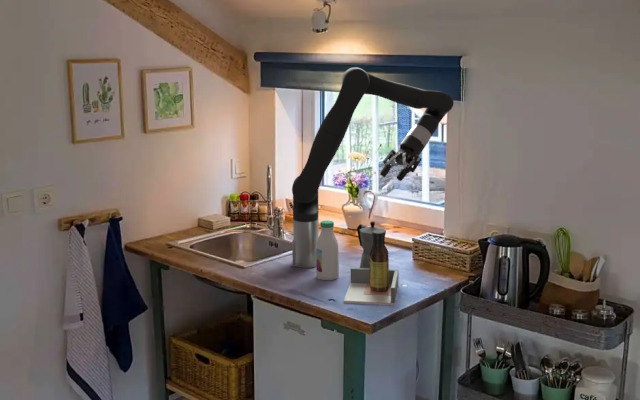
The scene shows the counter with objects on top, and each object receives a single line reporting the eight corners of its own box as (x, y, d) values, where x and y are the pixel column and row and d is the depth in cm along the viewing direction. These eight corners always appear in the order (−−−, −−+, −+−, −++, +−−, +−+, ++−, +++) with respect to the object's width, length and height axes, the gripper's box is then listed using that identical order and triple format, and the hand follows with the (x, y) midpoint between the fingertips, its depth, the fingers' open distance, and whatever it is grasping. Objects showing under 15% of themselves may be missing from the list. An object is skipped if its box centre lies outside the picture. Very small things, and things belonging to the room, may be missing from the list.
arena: (343, 303, 231) (343, 285, 230) (351, 283, 248) (351, 267, 247) (394, 305, 228) (394, 287, 227) (398, 286, 245) (398, 269, 244)
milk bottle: (340, 274, 258) (340, 219, 254) (336, 281, 251) (335, 225, 246) (319, 272, 260) (318, 218, 255) (314, 280, 253) (313, 224, 248)
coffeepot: (394, 272, 259) (394, 223, 255) (373, 278, 254) (373, 227, 250) (368, 262, 271) (368, 215, 267) (347, 266, 266) (347, 218, 262)
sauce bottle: (376, 284, 244) (376, 227, 240) (392, 288, 240) (393, 230, 236) (365, 290, 239) (365, 231, 234) (382, 294, 235) (382, 234, 231)
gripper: (396, 132, 257) (371, 167, 253) (424, 136, 246) (398, 174, 242) (407, 145, 261) (382, 181, 258) (435, 150, 250) (410, 187, 246)
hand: (390, 177), depth 250 cm, fingers open, 8 cm apart
